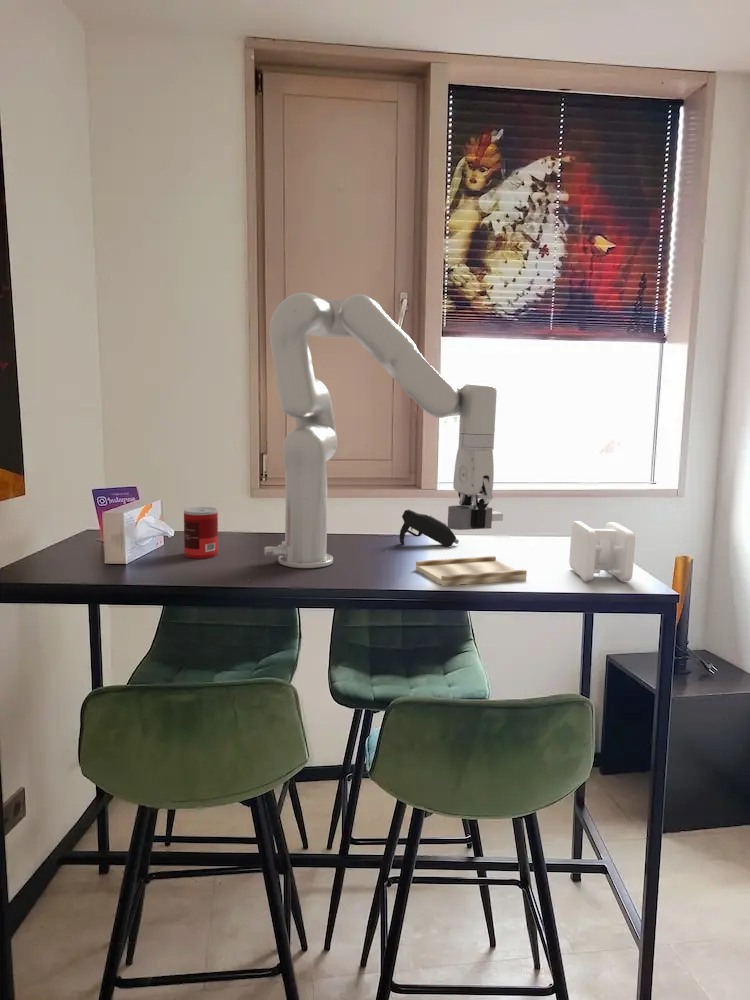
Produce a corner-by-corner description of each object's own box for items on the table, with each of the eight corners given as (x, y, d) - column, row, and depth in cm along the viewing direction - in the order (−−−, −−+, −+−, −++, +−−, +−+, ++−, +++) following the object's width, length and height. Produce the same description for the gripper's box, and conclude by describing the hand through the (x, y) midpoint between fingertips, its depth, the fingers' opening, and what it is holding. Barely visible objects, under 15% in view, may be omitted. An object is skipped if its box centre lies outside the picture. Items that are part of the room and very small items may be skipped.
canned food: (220, 551, 172) (220, 507, 170) (214, 559, 164) (213, 512, 163) (188, 551, 172) (188, 506, 170) (180, 558, 164) (180, 512, 162)
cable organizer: (566, 567, 166) (570, 518, 165) (611, 568, 166) (615, 519, 165) (585, 584, 152) (589, 531, 150) (634, 586, 152) (639, 532, 150)
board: (443, 586, 147) (443, 577, 147) (415, 569, 160) (415, 561, 159) (526, 579, 154) (526, 570, 154) (493, 564, 167) (493, 556, 167)
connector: (453, 530, 151) (454, 509, 150) (443, 526, 155) (444, 505, 155) (504, 527, 156) (505, 507, 155) (493, 524, 160) (494, 504, 159)
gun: (444, 567, 185) (463, 534, 184) (390, 538, 184) (409, 505, 183) (443, 565, 188) (462, 532, 187) (390, 535, 187) (408, 503, 186)
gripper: (443, 439, 159) (439, 519, 162) (480, 445, 143) (475, 534, 146) (472, 439, 161) (468, 518, 164) (512, 445, 146) (507, 532, 149)
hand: (472, 524), depth 155 cm, fingers closed on connector, 4 cm apart
